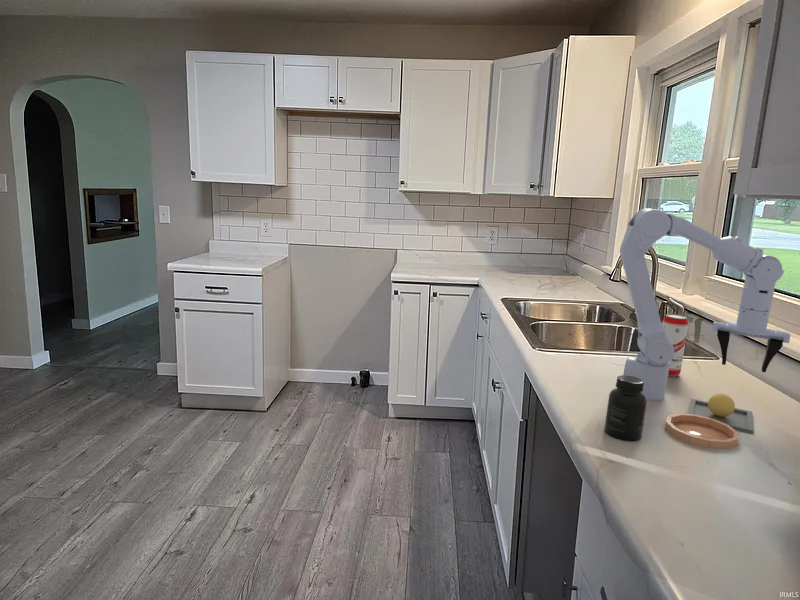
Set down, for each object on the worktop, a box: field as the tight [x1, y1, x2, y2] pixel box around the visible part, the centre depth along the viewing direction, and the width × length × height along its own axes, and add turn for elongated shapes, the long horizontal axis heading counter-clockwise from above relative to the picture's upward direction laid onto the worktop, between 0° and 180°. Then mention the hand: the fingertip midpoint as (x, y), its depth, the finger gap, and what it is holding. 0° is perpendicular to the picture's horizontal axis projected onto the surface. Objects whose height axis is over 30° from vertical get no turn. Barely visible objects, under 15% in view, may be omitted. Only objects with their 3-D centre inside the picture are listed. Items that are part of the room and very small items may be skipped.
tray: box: [686, 398, 754, 434], centre depth 119 cm, size 12×12×1 cm
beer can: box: [661, 313, 689, 378], centre depth 146 cm, size 6×6×16 cm
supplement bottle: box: [604, 374, 648, 443], centre depth 106 cm, size 7×7×12 cm
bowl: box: [664, 412, 739, 450], centre depth 109 cm, size 13×13×2 cm
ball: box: [707, 393, 736, 417], centre depth 118 cm, size 5×5×5 cm
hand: (743, 367), depth 124 cm, fingers open, 7 cm apart
